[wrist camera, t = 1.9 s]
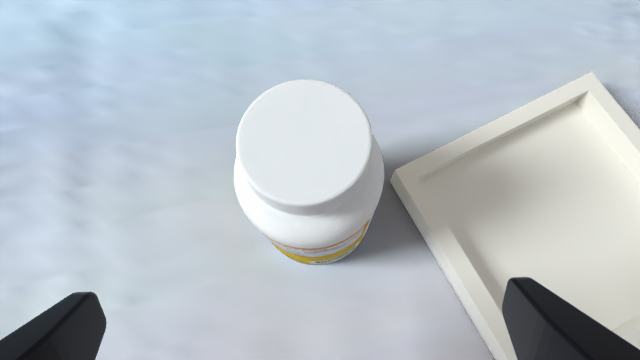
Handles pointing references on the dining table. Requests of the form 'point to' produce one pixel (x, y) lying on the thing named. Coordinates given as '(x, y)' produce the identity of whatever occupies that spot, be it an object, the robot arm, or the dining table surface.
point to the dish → (537, 209)
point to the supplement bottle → (308, 170)
